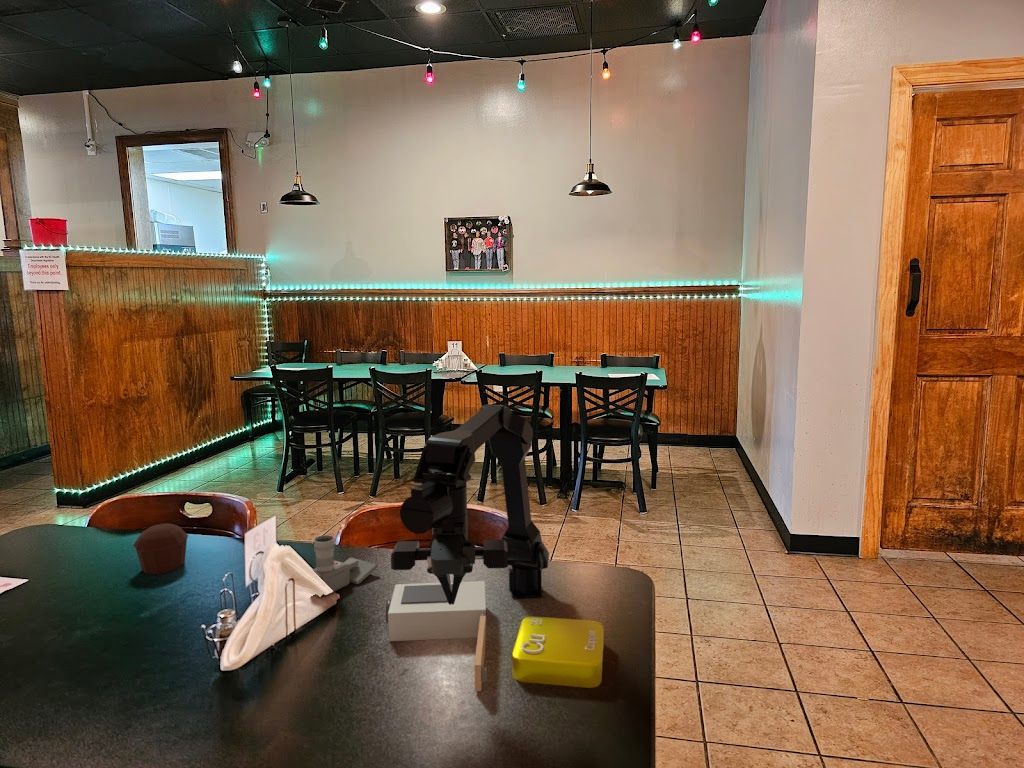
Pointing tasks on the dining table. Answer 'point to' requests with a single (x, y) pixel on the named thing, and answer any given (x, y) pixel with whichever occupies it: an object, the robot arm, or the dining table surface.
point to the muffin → (161, 548)
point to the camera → (338, 565)
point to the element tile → (559, 652)
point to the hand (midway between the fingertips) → (451, 603)
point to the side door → (480, 654)
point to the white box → (434, 611)
